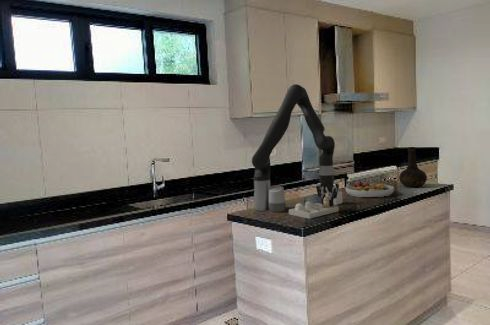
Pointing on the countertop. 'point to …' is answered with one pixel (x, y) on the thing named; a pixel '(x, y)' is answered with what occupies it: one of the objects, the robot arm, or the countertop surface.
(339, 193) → the medicine bottle
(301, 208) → the white egg near
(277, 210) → the smart speaker
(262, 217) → the countertop surface
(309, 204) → the white egg middle
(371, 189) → the bowl
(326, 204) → the tan egg
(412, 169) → the dark brown vase
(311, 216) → the egg carton
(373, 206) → the countertop surface
